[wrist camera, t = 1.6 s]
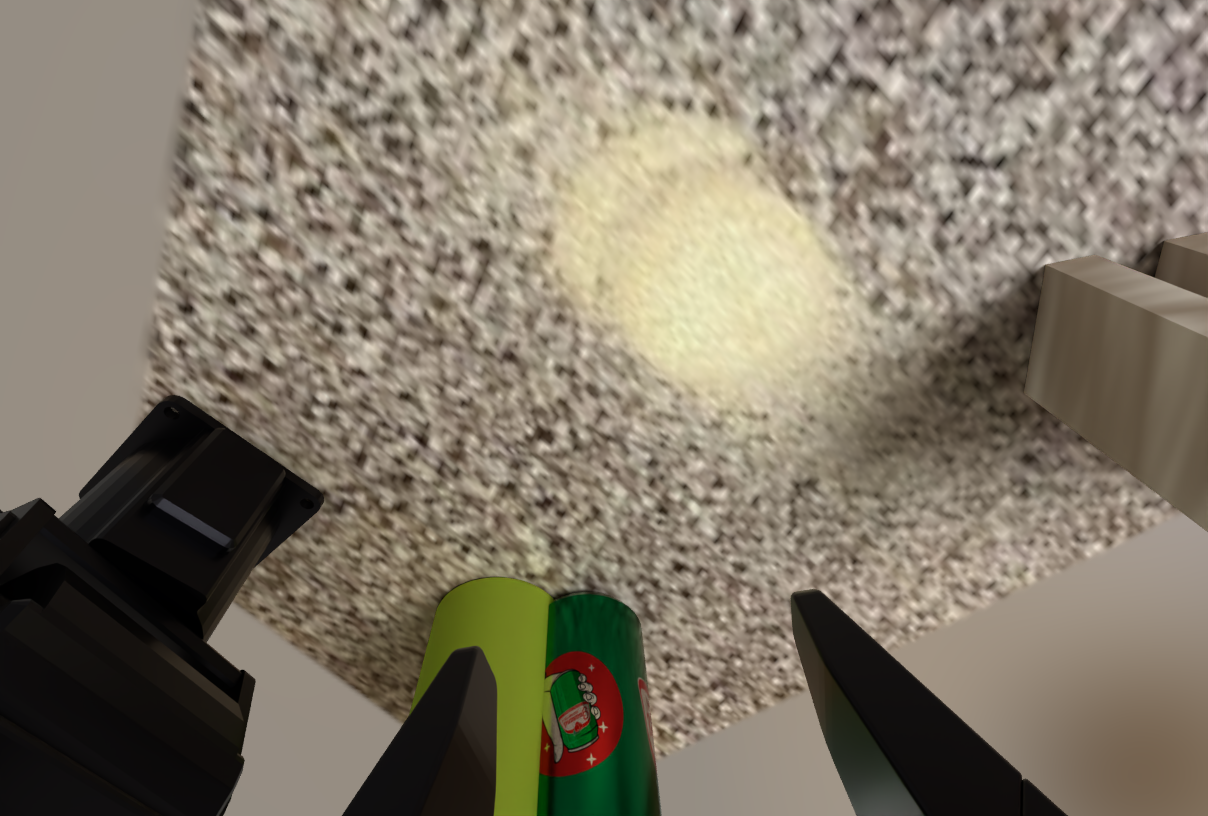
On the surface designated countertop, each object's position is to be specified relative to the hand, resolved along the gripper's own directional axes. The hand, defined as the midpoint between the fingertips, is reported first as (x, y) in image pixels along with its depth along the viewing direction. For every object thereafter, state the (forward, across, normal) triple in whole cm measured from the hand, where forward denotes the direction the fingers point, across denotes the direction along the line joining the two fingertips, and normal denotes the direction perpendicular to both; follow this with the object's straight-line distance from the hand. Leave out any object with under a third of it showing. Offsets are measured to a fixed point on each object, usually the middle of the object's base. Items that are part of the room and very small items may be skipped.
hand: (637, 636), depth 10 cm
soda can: (+13, +4, +14) cm, 20 cm away
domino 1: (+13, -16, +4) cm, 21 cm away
